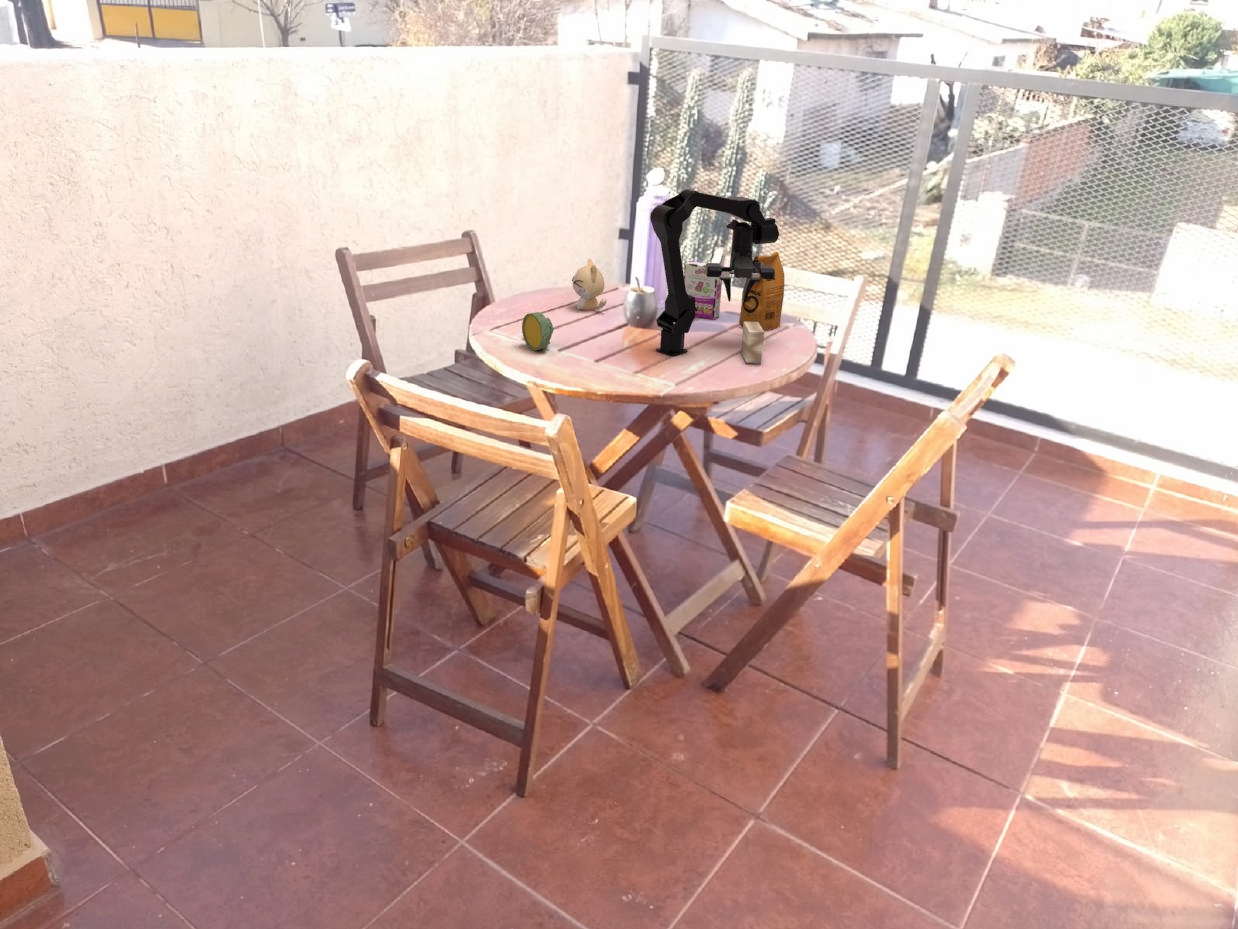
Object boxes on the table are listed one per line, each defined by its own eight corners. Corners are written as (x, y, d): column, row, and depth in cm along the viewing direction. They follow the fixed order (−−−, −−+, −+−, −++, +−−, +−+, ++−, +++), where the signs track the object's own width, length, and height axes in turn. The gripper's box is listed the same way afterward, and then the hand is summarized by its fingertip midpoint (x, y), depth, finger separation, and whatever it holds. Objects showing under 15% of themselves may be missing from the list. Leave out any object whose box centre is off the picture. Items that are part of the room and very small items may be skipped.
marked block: (745, 364, 240) (749, 331, 236) (740, 352, 249) (743, 321, 245) (760, 365, 240) (764, 332, 236) (754, 353, 249) (758, 321, 245)
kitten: (568, 302, 290) (569, 256, 284) (599, 302, 292) (600, 256, 286) (575, 315, 277) (575, 266, 271) (607, 315, 279) (608, 266, 272)
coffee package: (733, 326, 273) (740, 253, 264) (759, 319, 281) (766, 248, 272) (759, 333, 266) (767, 259, 257) (784, 326, 274) (793, 254, 265)
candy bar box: (719, 317, 282) (724, 264, 275) (713, 320, 278) (718, 267, 271) (687, 311, 286) (690, 259, 279) (680, 314, 282) (684, 262, 275)
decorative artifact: (521, 345, 248) (521, 309, 243) (543, 341, 252) (543, 306, 247) (542, 354, 241) (542, 318, 236) (563, 350, 245) (564, 314, 240)
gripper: (711, 250, 238) (706, 308, 244) (781, 252, 239) (775, 310, 245) (706, 241, 248) (702, 297, 255) (773, 244, 249) (767, 299, 255)
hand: (736, 301), depth 252 cm, fingers open, 4 cm apart
